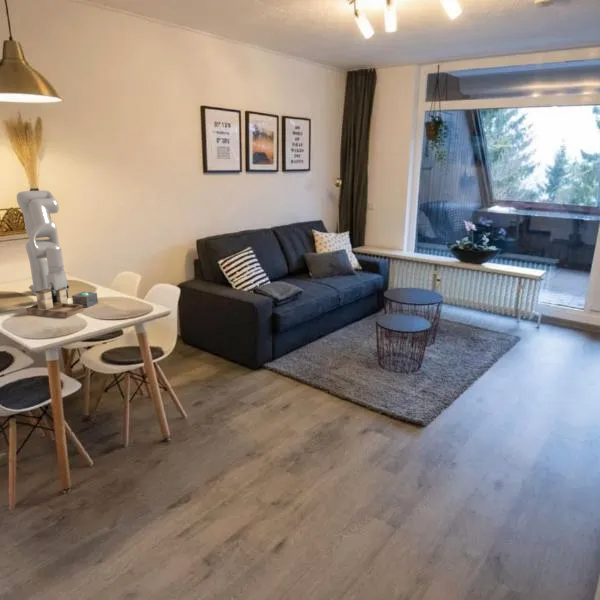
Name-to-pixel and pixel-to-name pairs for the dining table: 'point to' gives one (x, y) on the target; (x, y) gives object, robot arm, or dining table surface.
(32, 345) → the dining table surface
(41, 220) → the robot arm
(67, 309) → the tray
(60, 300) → the block
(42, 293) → the block
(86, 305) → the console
